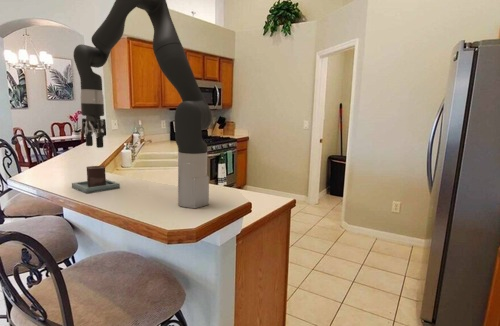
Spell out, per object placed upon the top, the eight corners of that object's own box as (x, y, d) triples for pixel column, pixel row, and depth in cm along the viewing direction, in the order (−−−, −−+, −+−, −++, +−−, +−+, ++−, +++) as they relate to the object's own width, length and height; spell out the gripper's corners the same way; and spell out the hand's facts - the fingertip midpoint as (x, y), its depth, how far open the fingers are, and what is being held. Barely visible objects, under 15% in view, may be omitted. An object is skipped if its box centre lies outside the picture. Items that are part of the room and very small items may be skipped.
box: (106, 186, 119) (105, 167, 118) (88, 188, 116) (87, 168, 115) (104, 183, 124) (103, 165, 123) (87, 184, 121) (86, 166, 120)
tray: (119, 188, 121) (119, 183, 121) (86, 193, 111) (86, 188, 111) (104, 183, 129) (104, 178, 128) (71, 187, 119) (71, 183, 119)
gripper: (111, 103, 114) (113, 147, 116) (93, 103, 123) (95, 144, 125) (90, 102, 108) (93, 148, 110) (73, 102, 117) (75, 145, 119)
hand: (94, 146), depth 118 cm, fingers open, 8 cm apart
